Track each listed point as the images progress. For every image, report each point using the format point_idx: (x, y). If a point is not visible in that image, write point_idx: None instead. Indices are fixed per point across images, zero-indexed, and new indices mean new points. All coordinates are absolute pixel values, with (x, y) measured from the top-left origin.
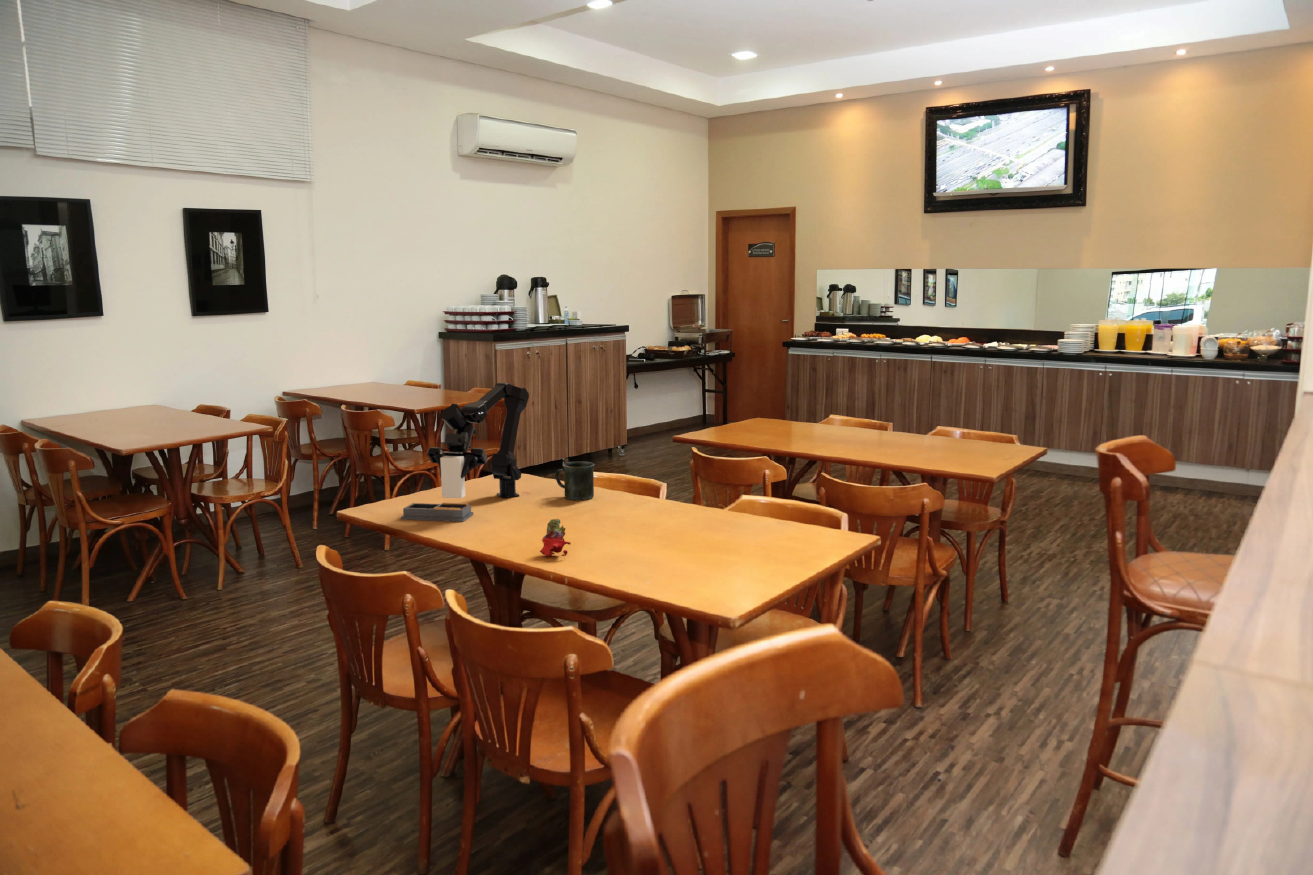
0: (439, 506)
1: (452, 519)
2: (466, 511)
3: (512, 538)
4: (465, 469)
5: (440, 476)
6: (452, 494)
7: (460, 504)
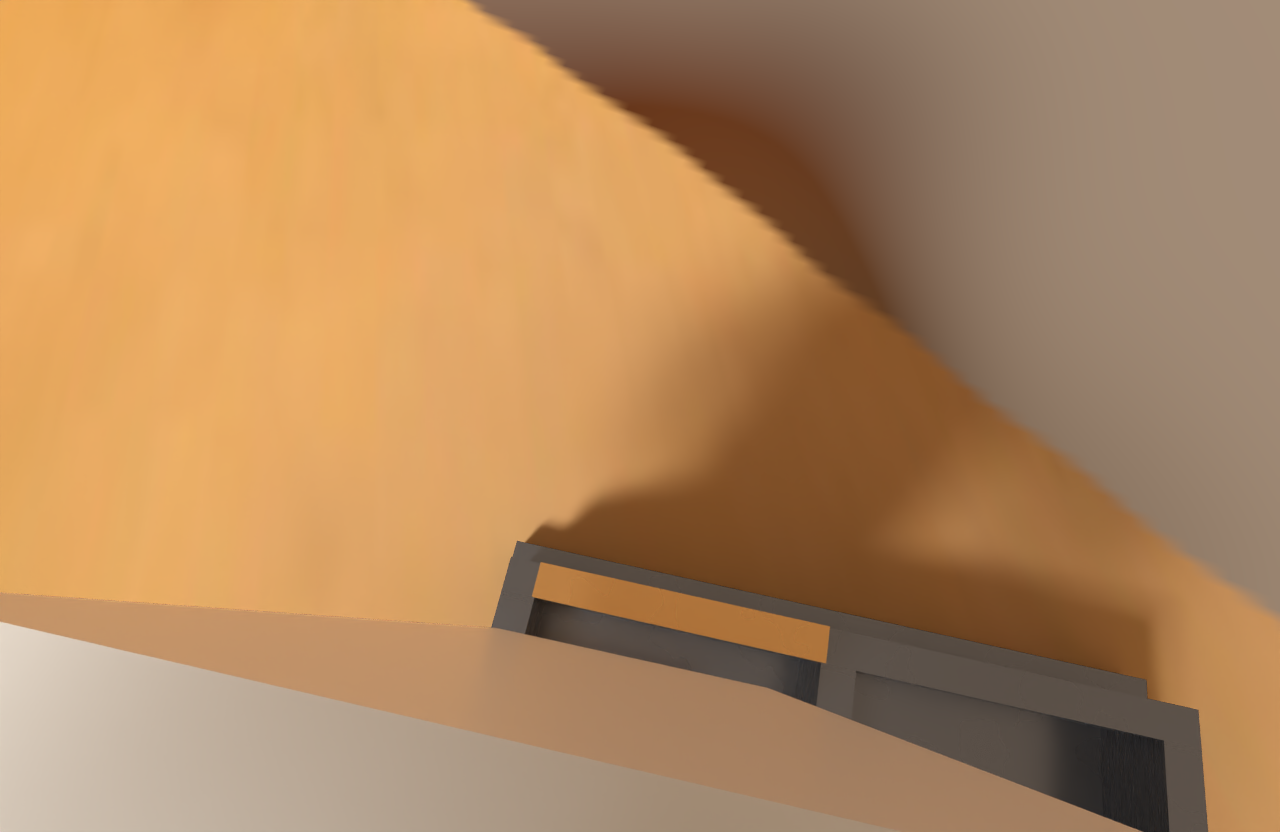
0: None
1: (620, 565)
2: None
3: (176, 97)
4: None
5: None
6: (616, 656)
7: None
